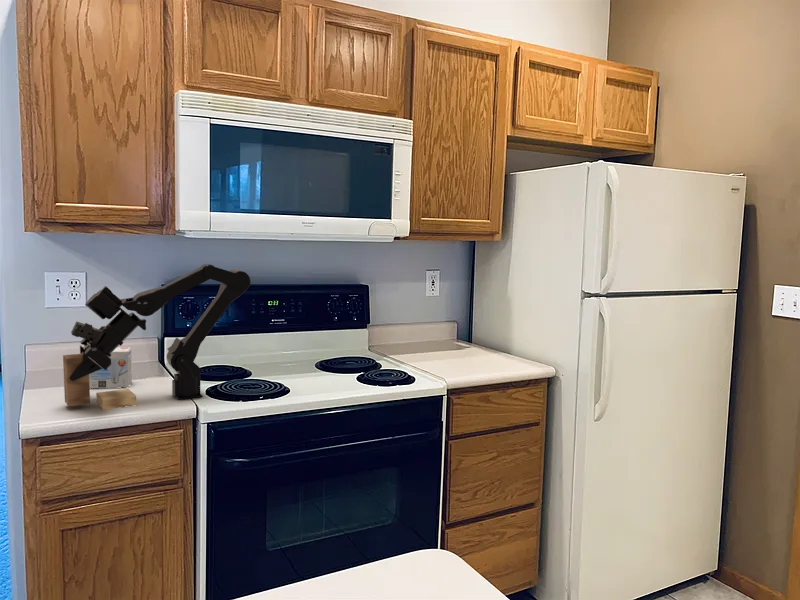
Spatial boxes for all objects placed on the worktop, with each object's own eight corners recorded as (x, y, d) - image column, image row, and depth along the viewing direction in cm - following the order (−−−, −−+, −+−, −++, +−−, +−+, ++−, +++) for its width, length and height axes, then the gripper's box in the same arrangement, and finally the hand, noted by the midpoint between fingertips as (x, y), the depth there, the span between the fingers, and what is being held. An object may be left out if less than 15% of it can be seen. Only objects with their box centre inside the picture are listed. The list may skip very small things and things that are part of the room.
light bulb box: (88, 389, 181) (87, 351, 180) (92, 383, 187) (92, 347, 186) (129, 388, 184) (128, 350, 182) (132, 382, 190) (131, 346, 189)
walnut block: (86, 398, 166) (84, 353, 165) (90, 403, 162) (88, 356, 161) (64, 401, 164) (63, 355, 162) (68, 406, 160) (66, 358, 158)
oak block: (128, 399, 173) (128, 388, 172) (136, 406, 166) (136, 395, 166) (96, 403, 168) (96, 392, 168) (102, 411, 162) (102, 399, 161)
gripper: (88, 306, 170) (42, 350, 166) (95, 315, 154) (44, 364, 150) (121, 333, 175) (77, 377, 171) (131, 345, 159) (82, 393, 155)
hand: (70, 377), depth 162 cm, fingers closed on walnut block, 5 cm apart
